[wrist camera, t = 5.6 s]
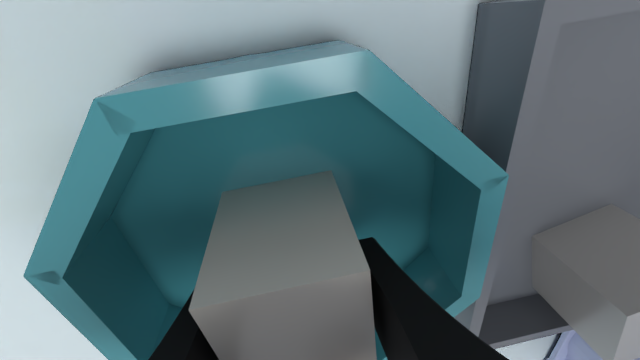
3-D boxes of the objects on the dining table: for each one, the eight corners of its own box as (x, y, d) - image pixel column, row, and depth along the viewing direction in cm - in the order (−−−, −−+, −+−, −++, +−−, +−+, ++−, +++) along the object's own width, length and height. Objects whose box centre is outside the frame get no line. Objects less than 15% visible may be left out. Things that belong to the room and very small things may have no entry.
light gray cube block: (600, 259, 16) (702, 334, 12) (532, 286, 16) (610, 367, 12) (611, 203, 14) (740, 274, 10) (531, 236, 14) (627, 316, 10)
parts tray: (637, 267, 18) (687, 301, 16) (439, 314, 17) (463, 356, 15) (847, -60, 10) (1014, -82, 7) (479, 3, 9) (545, -1, 7)
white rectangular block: (343, 261, 13) (378, 377, 9) (256, 280, 13) (249, 408, 8) (331, 170, 10) (370, 270, 6) (222, 191, 10) (188, 310, 6)
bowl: (432, 292, 16) (466, 351, 13) (191, 347, 15) (172, 422, 12) (459, 17, 9) (546, 18, 6) (15, 95, 8) (-120, 135, 5)
